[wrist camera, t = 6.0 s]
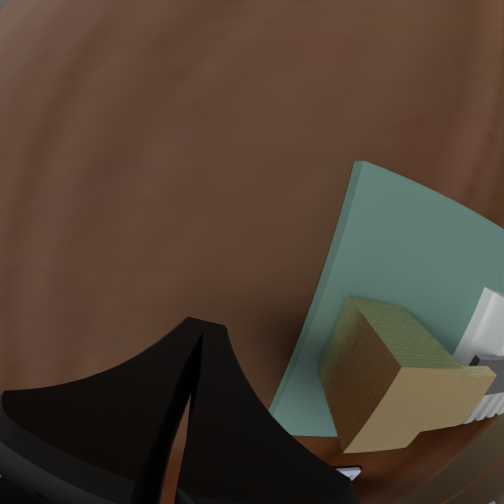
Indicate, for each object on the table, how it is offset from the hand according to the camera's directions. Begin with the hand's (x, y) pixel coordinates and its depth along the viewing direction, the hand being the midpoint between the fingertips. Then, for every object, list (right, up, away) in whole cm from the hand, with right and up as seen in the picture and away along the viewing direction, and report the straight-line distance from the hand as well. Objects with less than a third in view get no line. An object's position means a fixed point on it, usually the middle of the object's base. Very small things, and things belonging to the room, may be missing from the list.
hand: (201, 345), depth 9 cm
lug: (+8, -1, +3) cm, 9 cm away
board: (+16, -3, +5) cm, 17 cm away
